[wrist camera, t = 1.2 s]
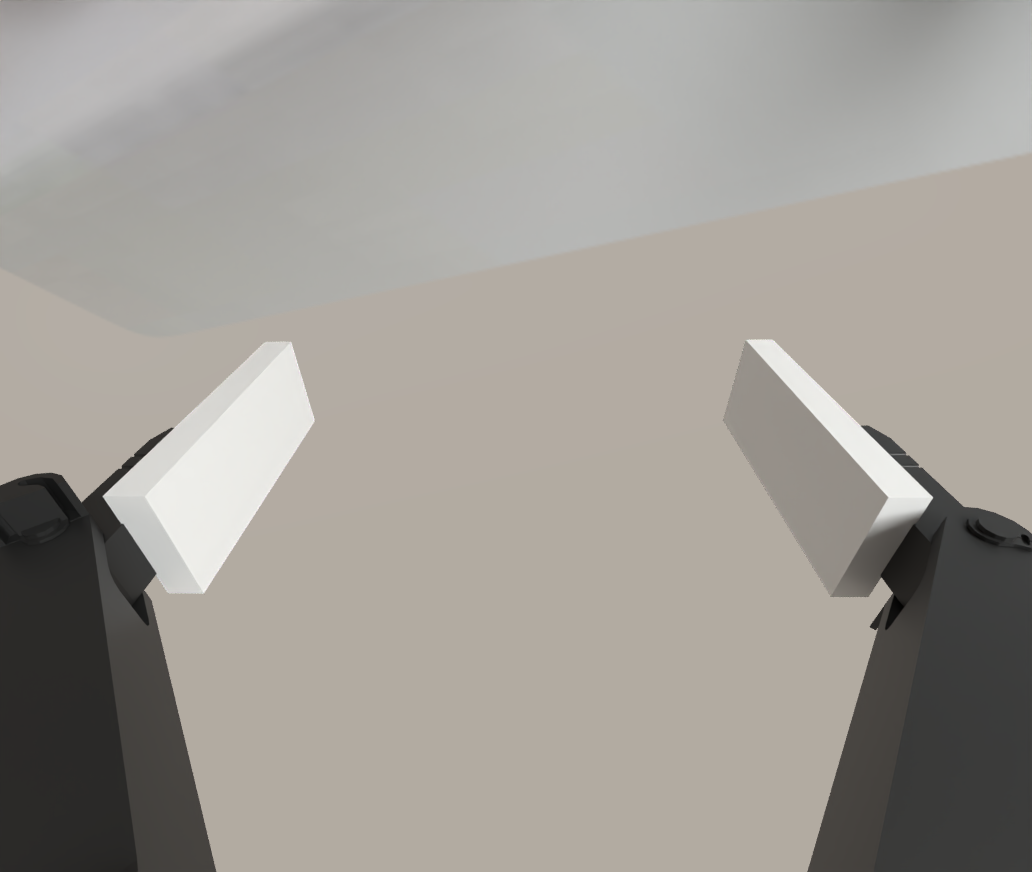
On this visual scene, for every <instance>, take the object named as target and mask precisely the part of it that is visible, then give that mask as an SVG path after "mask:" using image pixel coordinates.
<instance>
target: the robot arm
mask: <svg viewBox="0 0 1032 872" xmlns="http://www.w3.org/2000/svg"><path fill="white" fill-rule="evenodd" d="M314 421H315V420H314V416H313V413H312V410H311V406H310V403H309V400H308V396H307V393H306V390H305V386H304V383H303V380H302V376H301V373H300V370H299V366H298V363H297V360H296V356H295V353H294V350H293V346H292V343H291V342H264V343H263V344H262V345H261V346H260V347H259V348H258V349H257V350H256V351H255V352H254V353H253V354H252V355H251V356H250V357H249V358H248V359H247V360H246V361H244V362H243V363H242V364H241V365H240V366H239V367H238V368H237V369H236V370H235V371H234V372H233V373H232V374H231V375H230V376H229V377H228V378H227V379H225V381H223V382H222V383H221V384H220V385H219V386H218V387H217V388H216V389H215V390H214V391H213V392H212V393H211V394H210V395H209V396H208V397H207V398H205V399H204V400H203V401H202V402H201V403H200V404H199V405H198V406H197V407H196V408H195V409H194V410H193V411H192V412H191V413H190V414H189V415H188V416H187V417H186V418H184V419H183V421H181V422H180V423H179V424H178V425H177V426H176V427H175V428H170V429H168V430H167V431H165V432H163V433H161V434H159V435H158V436H156V437H154V438H153V439H151V440H149V441H148V442H147V443H146V444H145V445H144V446H143V447H142V448H140V449H139V450H138V451H137V452H136V453H135V454H134V457H131V458H130V459H128V460H127V461H126V462H125V463H124V464H123V465H122V469H118V470H117V471H115V473H113V474H112V475H111V476H110V477H109V478H108V479H107V480H106V481H105V482H104V483H102V484H101V485H100V486H99V487H98V488H97V489H96V490H95V491H94V492H93V493H91V494H90V495H89V496H88V497H87V498H86V499H85V500H84V501H83V502H82V503H81V501H80V500H79V499H78V497H77V496H76V495H75V493H74V492H73V490H72V489H71V488H70V486H69V485H68V483H67V482H66V481H65V479H64V478H63V477H62V475H58V474H54V473H43V474H34V475H30V476H26V477H22V478H18V479H16V480H13V481H11V482H8V483H6V484H3V485H1V486H0V872H216V869H215V865H214V861H213V857H212V852H211V848H210V844H209V840H208V835H207V831H206V828H205V823H204V819H203V814H202V810H201V806H200V802H199V798H198V794H197V790H196V785H195V781H194V777H193V772H192V769H191V764H190V760H189V756H188V751H187V747H186V743H185V739H184V735H183V730H182V726H181V722H180V718H179V714H178V710H177V705H176V701H175V697H174V693H173V688H172V684H171V680H170V677H169V672H168V668H167V664H166V659H165V655H164V651H163V647H162V642H161V638H160V634H159V630H158V626H157V621H156V617H155V613H154V609H153V605H152V601H151V599H150V598H149V596H148V595H147V594H146V592H145V591H144V589H145V588H146V587H147V585H148V584H149V583H150V582H151V580H152V579H153V578H154V576H155V575H156V576H157V578H158V579H159V580H160V582H161V584H162V585H163V586H164V588H165V589H166V591H167V592H168V593H204V592H205V591H206V589H207V588H208V586H209V584H210V583H211V581H212V579H213V578H214V577H215V575H216V574H217V572H218V570H219V569H220V567H221V566H222V564H223V563H224V561H225V560H226V558H227V556H228V555H229V553H230V552H231V550H232V549H233V547H234V546H235V544H236V543H237V541H238V539H239V538H240V536H241V535H242V533H243V532H244V530H245V529H246V527H247V525H248V524H249V522H250V521H251V519H252V518H253V516H254V515H255V513H256V512H257V510H258V508H259V507H260V505H261V504H262V502H263V501H264V499H265V498H266V496H267V494H268V493H269V491H270V490H271V488H272V487H273V485H274V484H275V482H276V480H277V479H278V477H279V476H280V474H281V473H282V471H283V470H284V468H285V466H286V465H287V463H288V462H289V460H290V459H291V457H292V456H293V454H294V453H295V451H296V449H297V448H298V446H299V445H300V443H301V442H302V440H303V439H304V437H305V435H306V434H307V432H308V431H309V429H310V428H311V426H312V425H313V423H314ZM723 421H724V423H725V424H726V426H727V428H728V429H729V431H730V432H731V434H732V436H733V437H734V439H735V441H736V442H737V444H738V446H739V447H740V449H741V450H742V452H743V454H744V455H745V457H746V459H747V460H748V462H749V463H750V465H751V467H752V468H753V470H754V472H755V473H756V475H757V477H758V478H759V480H760V481H761V483H762V485H763V487H764V488H765V490H766V491H767V493H768V495H769V496H770V498H771V500H772V501H773V503H774V505H775V506H776V508H777V509H778V511H779V513H780V514H781V516H782V518H783V519H784V521H785V523H786V524H787V526H788V527H789V529H790V531H791V532H792V534H793V535H794V537H795V539H796V541H797V542H798V544H799V545H800V547H801V549H802V550H803V552H804V554H805V555H806V557H807V559H808V560H809V562H810V563H811V565H812V567H813V568H814V570H815V572H816V573H817V575H818V577H819V578H820V580H821V581H822V583H823V585H824V586H825V588H826V589H827V591H828V593H829V595H830V596H831V597H868V596H869V595H870V594H871V592H872V591H873V589H874V587H875V586H876V584H877V583H878V581H879V580H880V578H881V577H882V578H883V580H884V581H885V582H886V584H887V585H888V587H889V588H890V589H891V591H892V592H893V594H892V595H891V597H890V598H889V600H888V601H887V603H886V604H885V605H884V607H883V608H882V610H881V611H880V613H879V614H878V616H877V617H876V618H875V620H874V621H873V623H872V624H871V626H870V628H873V629H874V630H876V629H877V628H878V631H877V635H876V638H875V641H874V645H873V648H872V652H871V655H870V658H869V662H868V665H867V669H866V672H865V676H864V680H863V683H862V686H861V689H860V693H859V697H858V700H857V703H856V707H855V710H854V714H853V717H852V721H851V724H850V727H849V731H848V734H847V738H846V741H845V745H844V748H843V751H842V755H841V758H840V762H839V765H838V769H837V772H836V776H835V779H834V782H833V786H832V789H831V793H830V796H829V800H828V803H827V806H826V810H825V814H824V817H823V820H822V824H821V827H820V831H819V834H818V838H817V841H816V844H815V848H814V851H813V855H812V858H811V862H810V865H809V868H808V872H1032V534H1031V533H1030V532H1029V531H1028V530H1026V529H1025V528H1023V527H1022V526H1020V525H1019V524H1017V523H1016V522H1014V521H1012V520H1010V519H1008V518H1005V517H1003V516H1001V515H998V514H996V513H994V512H990V511H986V510H982V509H979V508H969V507H963V506H962V505H961V504H960V503H959V502H958V501H957V500H956V499H955V498H954V497H953V496H951V495H950V494H949V493H948V492H947V491H946V490H945V489H944V488H943V487H942V486H941V485H940V484H939V483H938V482H937V481H935V480H934V479H933V478H932V477H931V476H930V475H929V474H928V473H927V472H926V471H925V470H924V469H923V468H919V467H918V464H917V463H916V462H915V461H914V460H913V459H912V458H911V457H910V456H906V452H905V451H904V450H902V449H901V448H900V447H899V446H898V445H897V444H896V443H895V442H894V441H893V440H892V439H891V438H889V437H887V436H886V435H884V434H882V433H880V432H879V431H877V430H875V429H873V428H872V427H870V426H860V425H859V424H858V423H857V422H856V421H855V420H854V419H853V418H852V417H851V416H850V415H849V414H848V413H847V412H846V411H845V410H844V409H843V408H842V407H841V406H839V404H838V403H837V402H836V401H835V400H834V399H832V398H831V397H830V396H829V395H828V394H827V393H826V392H825V391H824V390H823V389H822V388H821V387H820V386H819V385H818V384H817V383H816V382H815V381H814V380H813V379H812V378H811V377H810V376H809V375H808V374H807V373H806V372H805V371H804V370H803V369H802V368H801V367H800V366H799V365H798V364H797V363H796V362H795V361H794V360H793V359H792V358H791V357H790V356H789V355H788V354H787V353H786V352H785V351H784V350H783V349H782V348H781V347H780V346H779V345H778V344H777V343H776V342H774V340H746V341H745V344H744V348H743V351H742V355H741V359H740V362H739V366H738V369H737V373H736V376H735V380H734V383H733V387H732V391H731V394H730V398H729V401H728V405H727V408H726V412H725V415H724V419H723Z"/></svg>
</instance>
